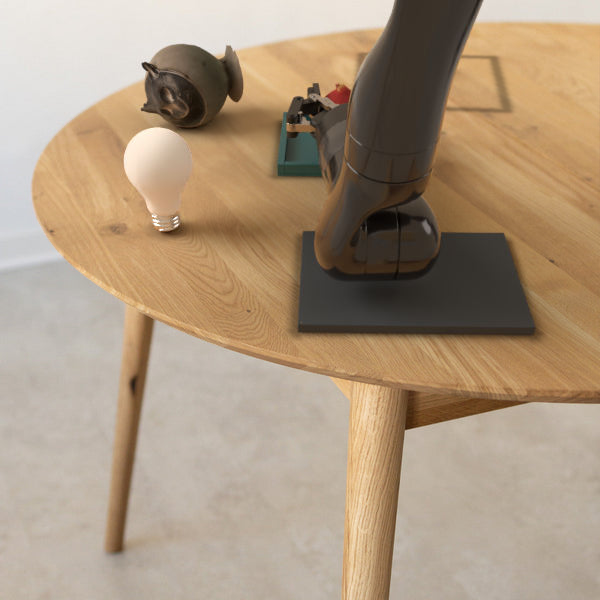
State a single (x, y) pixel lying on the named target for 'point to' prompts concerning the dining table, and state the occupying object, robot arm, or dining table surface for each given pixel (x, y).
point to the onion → (339, 94)
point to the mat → (422, 294)
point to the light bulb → (159, 173)
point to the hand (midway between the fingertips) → (339, 90)
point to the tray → (297, 154)
